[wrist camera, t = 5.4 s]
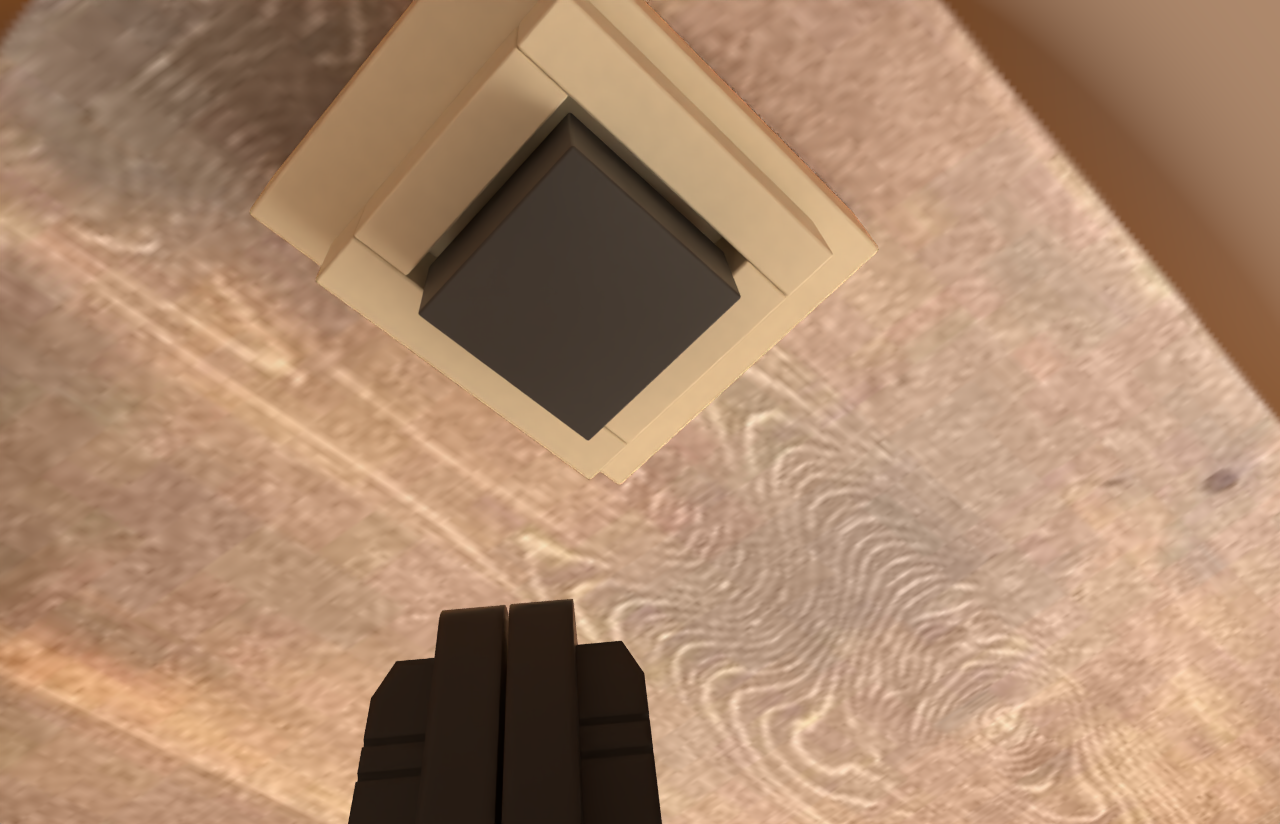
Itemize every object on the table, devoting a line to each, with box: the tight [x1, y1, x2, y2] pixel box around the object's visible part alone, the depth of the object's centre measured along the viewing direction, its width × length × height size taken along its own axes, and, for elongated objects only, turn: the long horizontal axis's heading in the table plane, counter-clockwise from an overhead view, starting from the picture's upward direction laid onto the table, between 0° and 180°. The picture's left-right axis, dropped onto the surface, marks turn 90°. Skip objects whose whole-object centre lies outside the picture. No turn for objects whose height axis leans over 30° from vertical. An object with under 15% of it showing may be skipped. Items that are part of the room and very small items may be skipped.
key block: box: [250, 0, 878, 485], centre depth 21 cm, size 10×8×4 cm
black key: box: [418, 113, 741, 441], centre depth 19 cm, size 4×4×2 cm
